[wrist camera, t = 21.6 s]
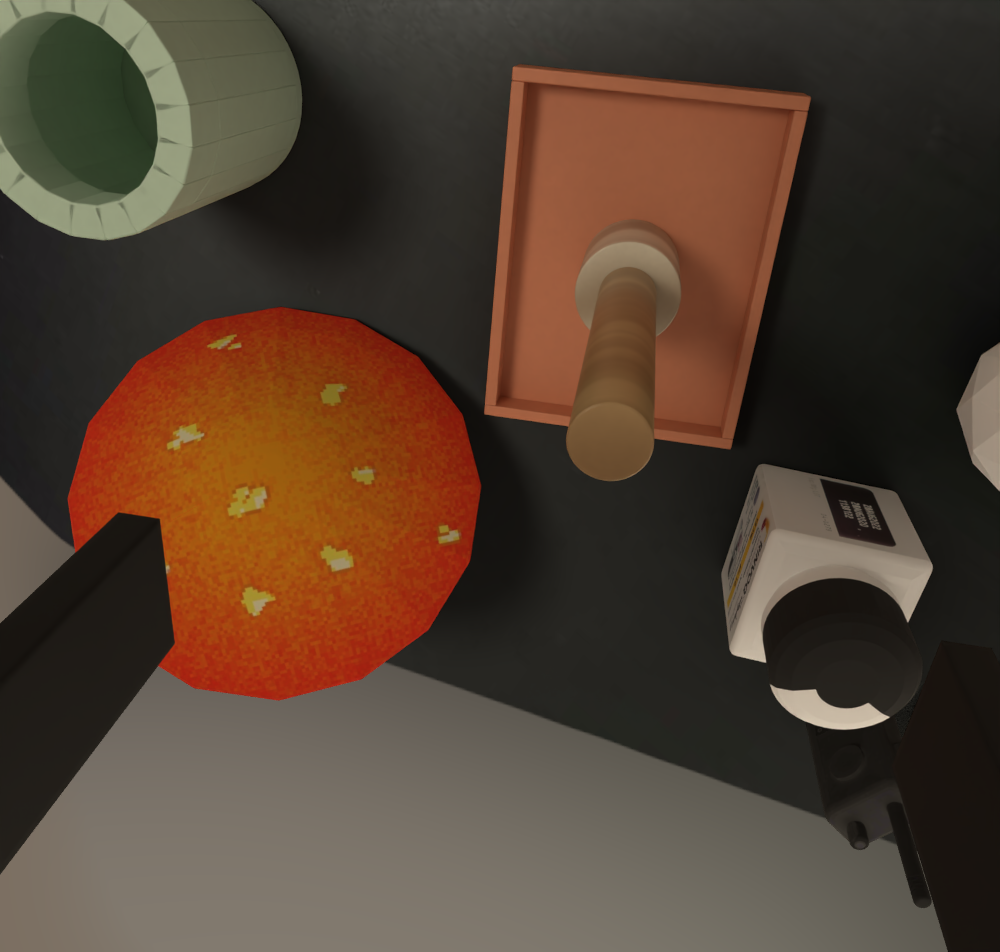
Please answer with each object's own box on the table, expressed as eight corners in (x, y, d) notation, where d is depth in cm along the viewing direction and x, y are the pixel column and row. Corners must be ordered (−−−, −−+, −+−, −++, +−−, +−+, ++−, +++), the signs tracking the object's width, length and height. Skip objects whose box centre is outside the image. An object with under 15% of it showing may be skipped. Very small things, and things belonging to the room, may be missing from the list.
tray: (518, 64, 42) (512, 66, 40) (805, 93, 41) (811, 96, 39) (490, 400, 50) (483, 414, 48) (728, 434, 49) (730, 450, 47)
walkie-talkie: (828, 732, 57) (879, 948, 44) (794, 699, 56) (836, 909, 43) (895, 695, 55) (969, 911, 42) (861, 661, 54) (926, 869, 41)
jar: (108, -29, 43) (-71, -43, 33) (300, -10, 42) (180, -19, 32) (130, 178, 48) (-21, 224, 37) (304, 199, 47) (200, 253, 36)
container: (757, 459, 49) (786, 594, 38) (898, 489, 49) (972, 635, 37) (719, 574, 53) (735, 729, 41) (850, 603, 52) (903, 767, 41)
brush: (589, 213, 44) (537, 356, 26) (687, 224, 44) (706, 379, 25) (577, 307, 46) (522, 501, 28) (670, 319, 46) (676, 524, 28)
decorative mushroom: (459, 588, 56) (396, 763, 43) (147, 475, 56) (-11, 616, 43) (534, 382, 49) (488, 516, 36) (178, 252, 49) (0, 339, 36)
